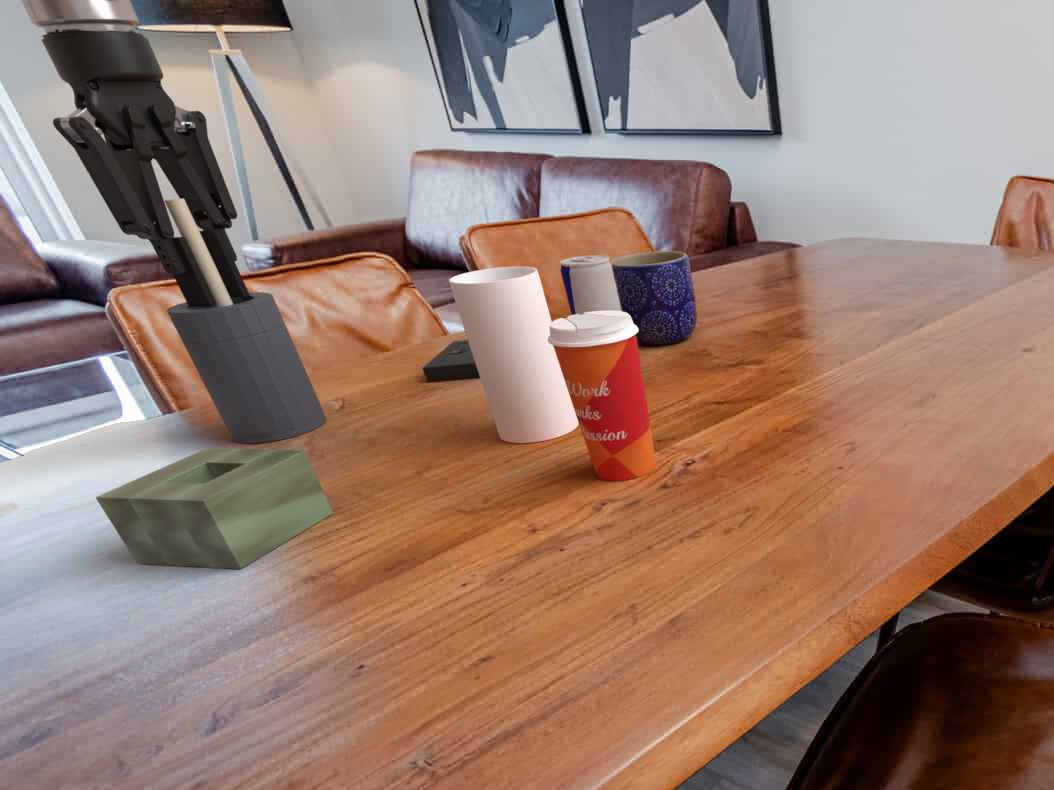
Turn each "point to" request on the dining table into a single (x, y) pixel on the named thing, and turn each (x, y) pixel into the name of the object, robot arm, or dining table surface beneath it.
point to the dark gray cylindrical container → (250, 368)
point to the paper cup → (606, 390)
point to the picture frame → (452, 364)
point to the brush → (198, 249)
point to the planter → (657, 295)
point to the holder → (217, 507)
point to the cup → (515, 352)
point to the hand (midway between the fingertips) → (219, 300)
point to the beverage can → (590, 284)
